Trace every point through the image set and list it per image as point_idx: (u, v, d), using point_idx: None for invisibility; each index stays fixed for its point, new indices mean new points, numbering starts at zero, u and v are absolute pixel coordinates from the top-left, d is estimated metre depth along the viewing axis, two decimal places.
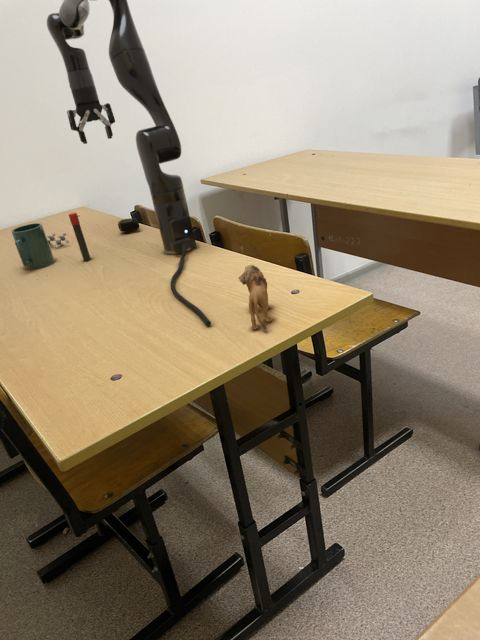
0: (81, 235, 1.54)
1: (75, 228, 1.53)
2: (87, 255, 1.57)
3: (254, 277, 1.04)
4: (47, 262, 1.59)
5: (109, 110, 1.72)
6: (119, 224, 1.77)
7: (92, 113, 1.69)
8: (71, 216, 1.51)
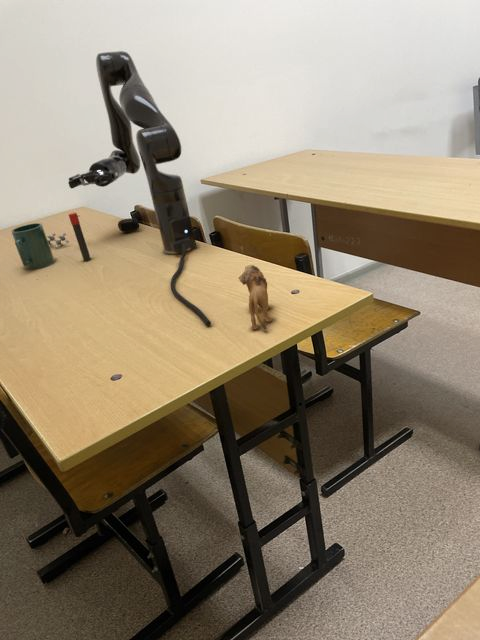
0: (81, 235, 1.54)
1: (75, 228, 1.53)
2: (87, 255, 1.57)
3: (254, 276, 1.04)
4: (47, 262, 1.59)
5: (112, 171, 1.64)
6: (119, 224, 1.77)
7: (95, 173, 1.65)
8: (71, 216, 1.51)
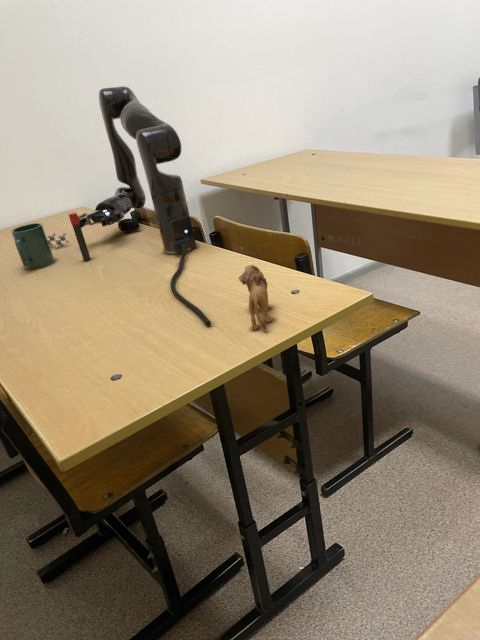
0: (81, 235, 1.54)
1: (75, 228, 1.53)
2: (87, 255, 1.57)
3: (254, 277, 1.04)
4: (47, 262, 1.59)
5: (117, 211, 1.66)
6: (119, 224, 1.77)
7: (101, 213, 1.67)
8: (71, 216, 1.51)
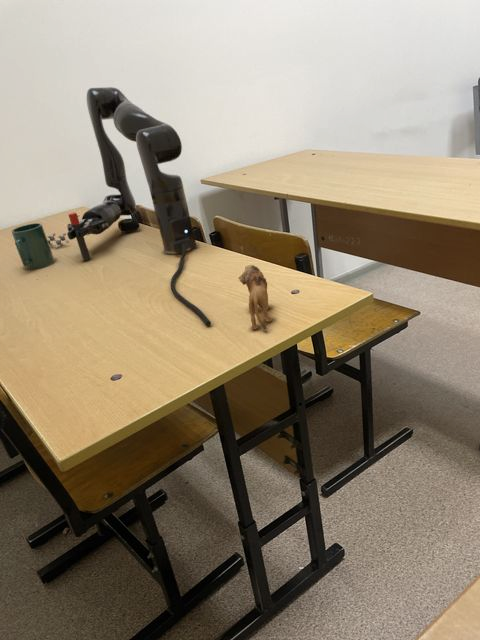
0: None
1: (75, 228, 1.53)
2: (87, 255, 1.57)
3: (254, 276, 1.04)
4: (47, 262, 1.59)
5: (99, 222, 1.57)
6: (119, 224, 1.77)
7: None
8: (71, 216, 1.51)
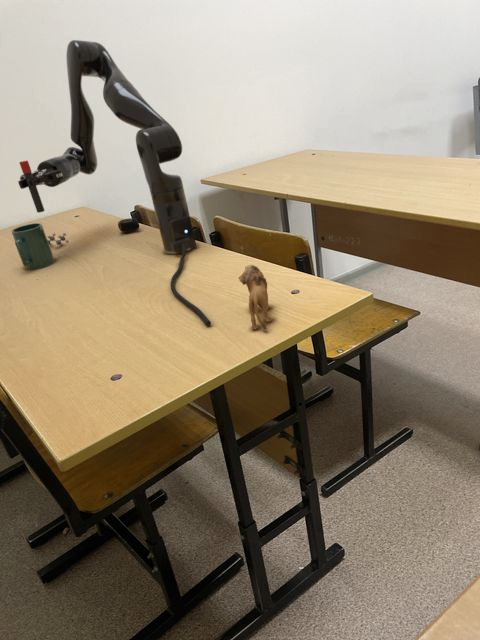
0: None
1: (26, 177, 1.48)
2: (40, 206, 1.52)
3: (254, 277, 1.04)
4: (47, 262, 1.59)
5: (53, 171, 1.52)
6: (119, 224, 1.77)
7: None
8: (22, 164, 1.46)
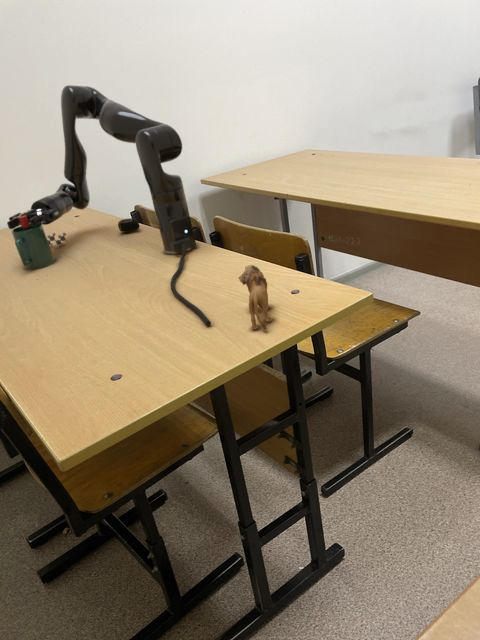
0: None
1: None
2: None
3: (254, 277, 1.04)
4: (47, 262, 1.59)
5: (51, 210, 1.59)
6: (119, 224, 1.77)
7: (35, 212, 1.60)
8: (21, 219, 1.54)
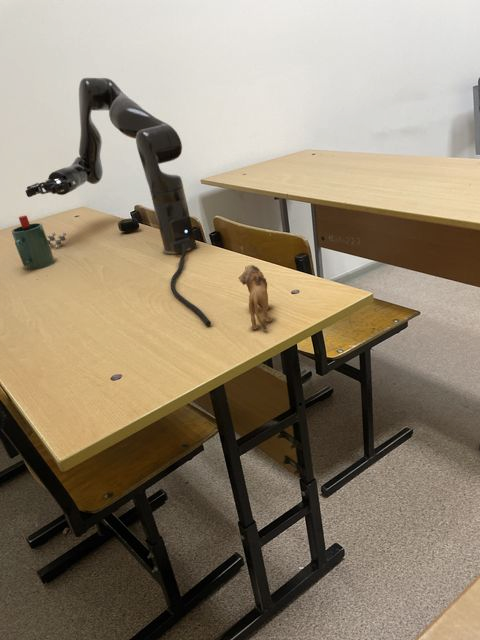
0: None
1: None
2: None
3: (254, 277, 1.04)
4: (47, 262, 1.59)
5: (69, 179, 1.67)
6: (119, 224, 1.77)
7: (53, 182, 1.68)
8: (21, 219, 1.54)
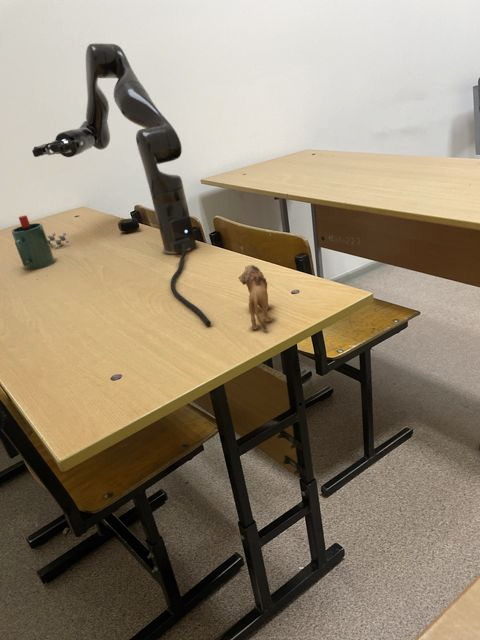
0: None
1: None
2: None
3: (254, 277, 1.04)
4: (47, 262, 1.59)
5: (77, 140, 1.63)
6: (119, 224, 1.77)
7: (60, 142, 1.64)
8: (21, 219, 1.54)
